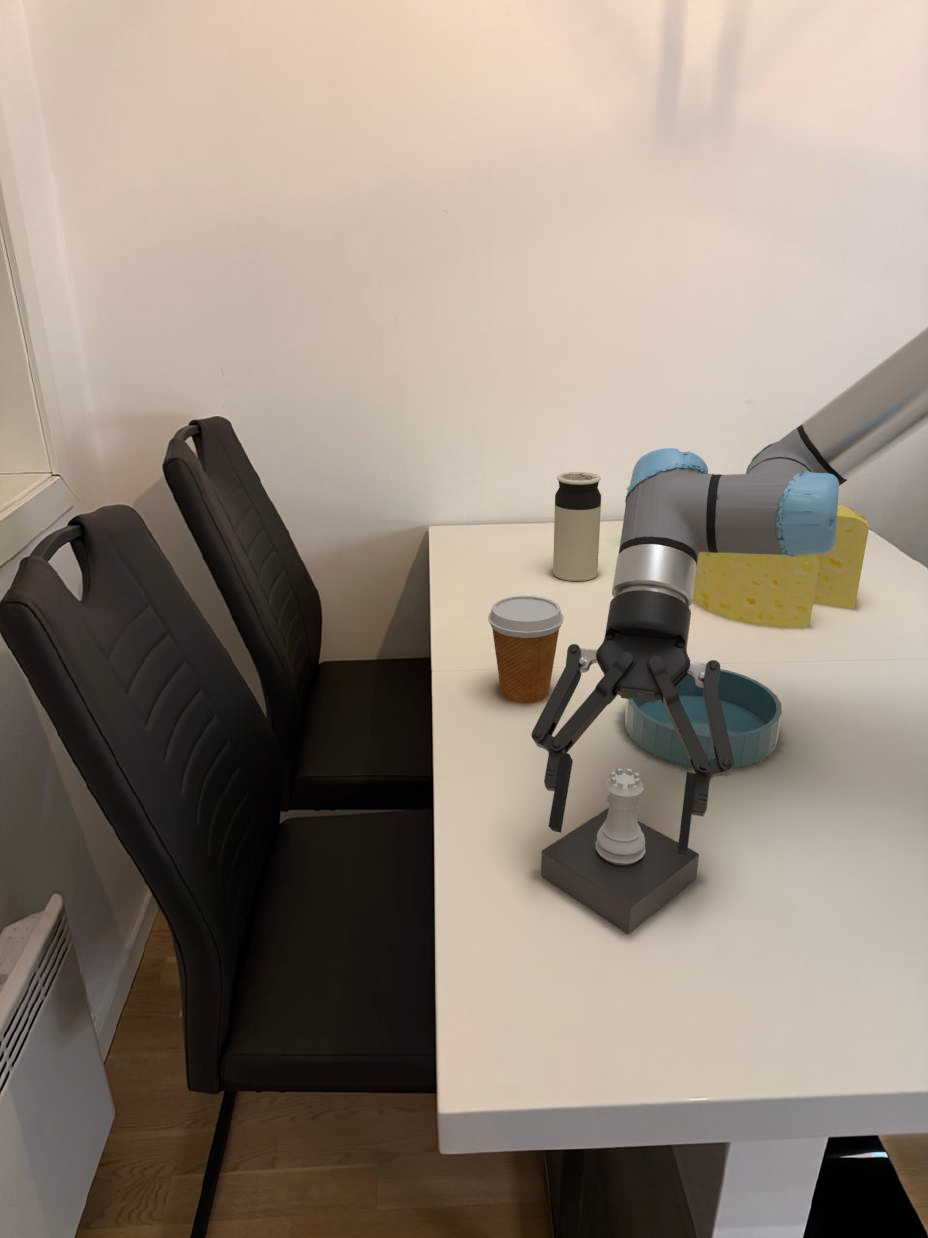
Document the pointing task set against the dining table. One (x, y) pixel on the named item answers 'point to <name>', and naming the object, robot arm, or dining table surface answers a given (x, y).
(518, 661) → the disposable coffee cup
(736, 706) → the tin
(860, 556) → the cheese
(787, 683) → the dining table surface
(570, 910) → the dining table surface
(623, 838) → the rook chess piece
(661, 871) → the stand
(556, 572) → the travel mug
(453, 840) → the dining table surface
